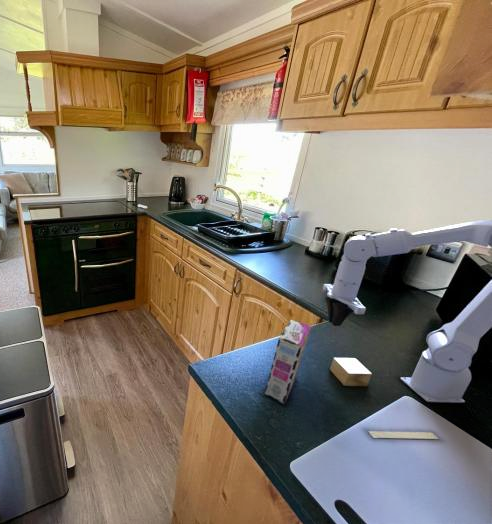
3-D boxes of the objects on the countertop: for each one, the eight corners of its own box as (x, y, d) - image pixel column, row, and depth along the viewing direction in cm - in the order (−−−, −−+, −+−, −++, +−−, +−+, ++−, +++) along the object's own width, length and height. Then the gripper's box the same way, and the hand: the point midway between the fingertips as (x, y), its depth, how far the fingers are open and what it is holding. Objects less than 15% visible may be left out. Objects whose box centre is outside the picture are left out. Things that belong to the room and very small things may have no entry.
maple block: (351, 370, 80) (355, 358, 78) (367, 386, 74) (372, 373, 73) (329, 369, 80) (333, 357, 78) (344, 385, 74) (348, 373, 73)
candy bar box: (285, 405, 67) (302, 346, 61) (263, 394, 70) (277, 337, 64) (297, 379, 75) (312, 325, 70) (277, 370, 78) (290, 318, 73)
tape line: (431, 432, 62) (431, 432, 62) (438, 439, 60) (438, 438, 60) (367, 431, 61) (367, 431, 61) (373, 437, 60) (373, 437, 60)
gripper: (317, 270, 85) (306, 310, 89) (352, 291, 71) (337, 338, 76) (341, 270, 85) (329, 311, 90) (379, 292, 71) (363, 338, 76)
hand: (334, 323), depth 83 cm, fingers closed
